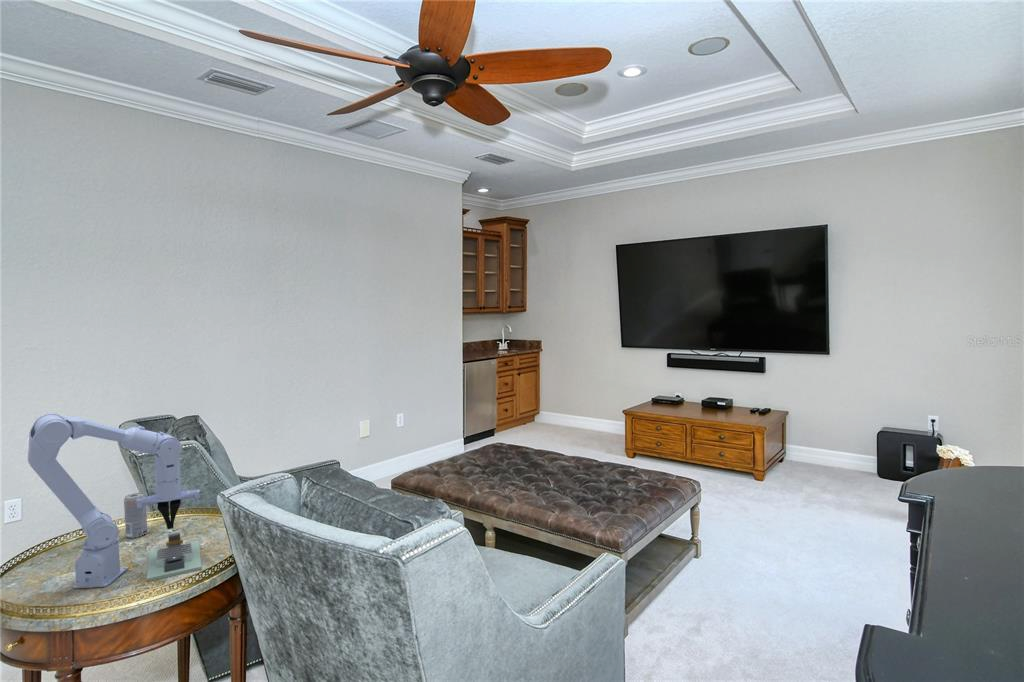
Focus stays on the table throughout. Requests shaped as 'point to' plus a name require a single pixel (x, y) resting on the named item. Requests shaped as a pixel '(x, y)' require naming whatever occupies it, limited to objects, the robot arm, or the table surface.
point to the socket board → (188, 565)
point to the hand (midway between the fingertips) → (170, 527)
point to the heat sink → (185, 553)
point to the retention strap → (174, 550)
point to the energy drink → (135, 516)
